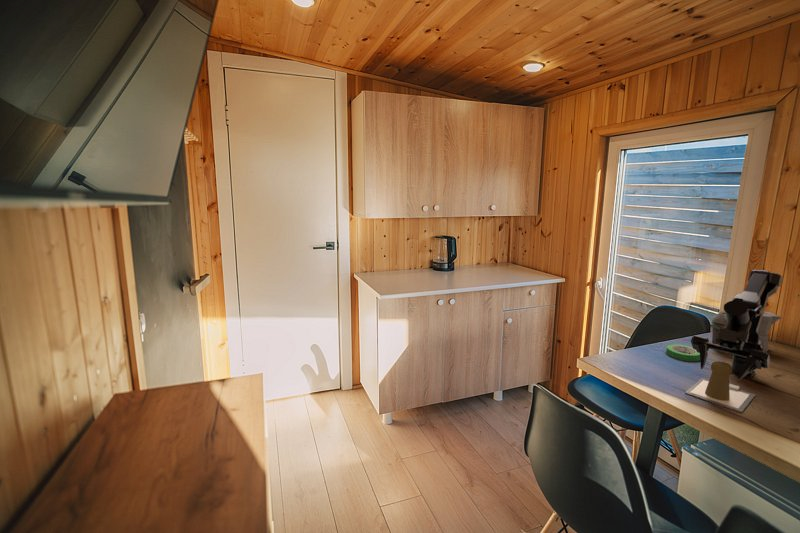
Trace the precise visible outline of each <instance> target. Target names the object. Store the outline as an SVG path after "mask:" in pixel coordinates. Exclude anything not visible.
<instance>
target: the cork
mask: <svg viewBox="0 0 800 533" xmlns="http://www.w3.org/2000/svg"><path fill="white" fill-rule="evenodd" d="M731 366H732V364H730V363H727V362H724V361H719V360H718V361H713V362H711V365H710V370H711V374H710V377H709V379H708V380H709V382H708V385H707V388H706V391H705V394H706V395H707V396H709V397H711V398H714V399H717V400H723V401H727V400H729V399H730V390H729V383H730V376H731V375H732V374H733V373H732V371H733V369H732V367H731Z"/></svg>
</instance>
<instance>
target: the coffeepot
mask: <svg viewBox="0 0 800 533" xmlns="http://www.w3.org/2000/svg"><path fill="white" fill-rule="evenodd" d="M782 319H783V317H782V316H780V315H778V314H773V313H772V312H769V311H765V310H764V314H763V317H762V320H761V323H760V326H759V330H758V333H757V334H758V336H759V338H760V341H761V344H760V345H762V349H763V351H764V352H768V351H769V349H770V348H769V346H770V344H769V335H768V332H769V331H770V330H771V328H772V325H774V324H775V323H776V322H777V321H779V320H782Z"/></svg>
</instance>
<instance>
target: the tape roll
mask: <svg viewBox="0 0 800 533" xmlns="http://www.w3.org/2000/svg"><path fill="white" fill-rule="evenodd" d="M665 352H666V354H667V356H670V357H672V358H673V359H678V360H682V361H687V362H700V353H698V352H697V351H696V350H695V349H693V347H692V346H689V345H684V344H669V345H667V346H666V350H665ZM689 353H690V354H689Z"/></svg>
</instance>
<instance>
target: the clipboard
mask: <svg viewBox="0 0 800 533" xmlns="http://www.w3.org/2000/svg"><path fill="white" fill-rule="evenodd" d="M709 380H710V379H707V378H703V377H701V378H700V379H699V380H697V382H695V383H694V384H693V385H692V386H691V387H690V388H689V389H687V390H686V391H685V392H684V394H686V395H689V396H690V397H691V396H692V397H693V398H696V399H699V398H700V399H701V400H702V399H703V400H702V401H705V400H706V402H708V401H709V402H708V403H711V402H712V404H714V403H715V404H714V405H717V404H718V405H717V406H721V407H723V408H725V407H726V409H728V408H729V410H731V409H732V410H731V411H734V410H735V412H738V413H741V414H742V413H743V412H744V411H745V409H746V408H747V407H748V405H749V404H750V403H751V402H752V401H753V399H754V398H755V397H756V394H755V393H752V392H749V391H746V390H742V389H740V386H739V385H735V384H732V383H730V382H729V390H730V399H729V400H727V401H723V400H717V399H714V398H711V397H709V396H707V395H706V394H705V391H706V388H707V385H708V382H709Z"/></svg>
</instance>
